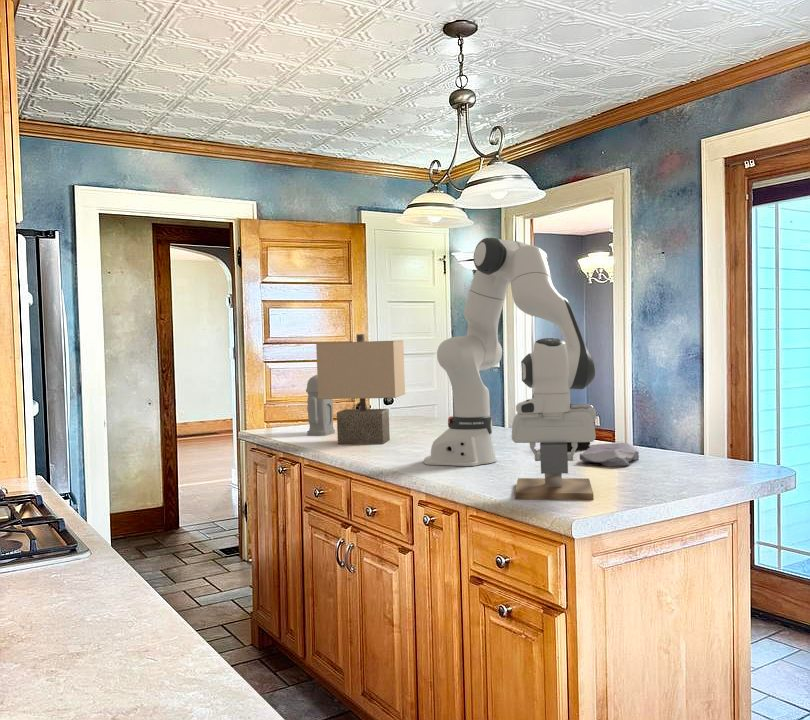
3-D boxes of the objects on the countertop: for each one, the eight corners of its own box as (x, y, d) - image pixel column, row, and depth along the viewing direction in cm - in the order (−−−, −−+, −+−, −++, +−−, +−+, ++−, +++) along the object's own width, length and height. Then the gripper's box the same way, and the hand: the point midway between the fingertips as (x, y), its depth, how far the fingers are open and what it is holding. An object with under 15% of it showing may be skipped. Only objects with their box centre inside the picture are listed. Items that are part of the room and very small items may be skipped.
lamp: (319, 445, 276) (315, 335, 275) (334, 439, 293) (330, 335, 292) (396, 445, 270) (393, 332, 269) (406, 438, 288) (403, 332, 286)
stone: (626, 469, 210) (626, 451, 210) (575, 466, 218) (575, 449, 217) (644, 458, 227) (644, 441, 226) (596, 456, 234) (596, 440, 234)
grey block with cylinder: (541, 473, 179) (540, 444, 179) (541, 466, 189) (540, 439, 188) (568, 473, 178) (567, 444, 178) (566, 466, 187) (565, 439, 187)
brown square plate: (515, 499, 175) (514, 473, 175) (518, 484, 193) (517, 461, 192) (593, 499, 172) (592, 474, 171) (589, 484, 189) (588, 460, 189)
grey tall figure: (315, 431, 319) (313, 374, 319) (338, 431, 317) (335, 373, 316) (302, 436, 305) (300, 375, 304) (326, 436, 303) (324, 375, 302)
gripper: (594, 402, 183) (596, 458, 183) (511, 404, 186) (513, 458, 187) (596, 404, 177) (598, 462, 177) (510, 406, 180) (512, 463, 181)
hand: (553, 460), depth 182 cm, fingers closed on grey block with cylinder, 6 cm apart
